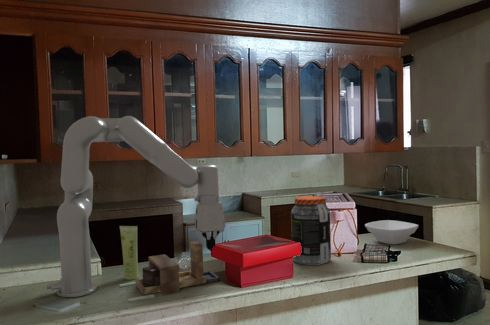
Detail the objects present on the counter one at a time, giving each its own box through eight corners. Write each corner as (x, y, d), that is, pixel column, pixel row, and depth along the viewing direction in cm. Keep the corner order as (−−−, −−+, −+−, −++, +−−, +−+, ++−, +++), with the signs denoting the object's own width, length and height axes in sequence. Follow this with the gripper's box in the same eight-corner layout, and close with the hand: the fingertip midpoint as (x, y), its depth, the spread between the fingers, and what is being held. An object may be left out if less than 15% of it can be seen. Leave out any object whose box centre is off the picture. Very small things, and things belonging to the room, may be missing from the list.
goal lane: (129, 302, 133) (129, 300, 133) (119, 286, 148) (119, 284, 148) (154, 297, 136) (154, 295, 136) (142, 282, 152) (142, 280, 152)
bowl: (359, 242, 202) (359, 224, 202) (387, 235, 213) (387, 219, 213) (395, 250, 185) (395, 231, 184) (424, 243, 196) (424, 225, 196)
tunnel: (161, 295, 138) (160, 268, 138) (149, 281, 153) (148, 256, 152) (179, 292, 141) (178, 265, 140) (165, 278, 155) (164, 254, 155)
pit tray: (206, 283, 149) (206, 279, 149) (197, 276, 157) (197, 273, 157) (219, 280, 151) (219, 277, 151) (210, 274, 159) (210, 270, 159)
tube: (123, 281, 154) (121, 227, 153) (121, 277, 158) (119, 225, 157) (139, 278, 156) (137, 226, 155) (137, 275, 161) (134, 223, 160)
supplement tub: (339, 263, 168) (337, 198, 167) (304, 268, 163) (302, 201, 161) (318, 253, 183) (316, 194, 182) (285, 258, 177) (283, 196, 176)
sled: (142, 294, 138) (141, 254, 137) (135, 284, 148) (134, 247, 147) (206, 282, 148) (205, 245, 147) (195, 274, 158) (194, 239, 157)
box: (156, 284, 150) (156, 263, 149) (168, 287, 146) (167, 266, 145) (142, 289, 145) (141, 267, 145) (153, 292, 141) (153, 270, 141)
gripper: (192, 202, 146) (195, 255, 147) (231, 198, 153) (234, 248, 154) (185, 200, 153) (188, 250, 154) (223, 196, 160) (225, 244, 161)
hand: (211, 249), depth 154 cm, fingers closed
